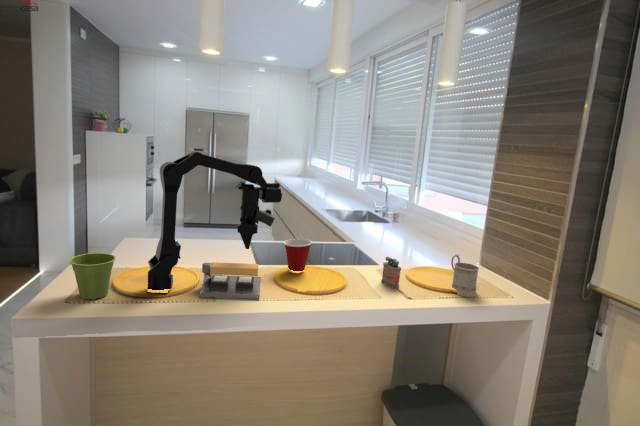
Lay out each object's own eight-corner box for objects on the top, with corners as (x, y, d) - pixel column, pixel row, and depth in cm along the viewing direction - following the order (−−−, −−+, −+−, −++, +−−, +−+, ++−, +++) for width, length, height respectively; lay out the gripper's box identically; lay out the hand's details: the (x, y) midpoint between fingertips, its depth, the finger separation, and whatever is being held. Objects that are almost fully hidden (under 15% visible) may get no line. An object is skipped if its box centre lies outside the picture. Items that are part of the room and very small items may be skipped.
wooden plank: (200, 274, 132) (201, 266, 131) (203, 269, 137) (203, 261, 136) (257, 276, 134) (258, 268, 134) (258, 271, 139) (258, 264, 139)
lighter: (401, 287, 150) (404, 261, 149) (394, 289, 148) (397, 262, 147) (385, 280, 157) (388, 255, 155) (379, 281, 155) (381, 256, 153)
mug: (483, 296, 148) (488, 264, 146) (458, 296, 146) (463, 263, 144) (460, 282, 162) (464, 252, 160) (437, 282, 160) (441, 252, 158)
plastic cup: (281, 266, 164) (283, 236, 162) (308, 267, 165) (310, 238, 163) (281, 275, 153) (283, 243, 151) (310, 276, 154) (313, 245, 152)
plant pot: (73, 289, 125) (72, 253, 123) (117, 287, 129) (117, 252, 127) (66, 305, 114) (65, 265, 112) (114, 301, 119) (114, 263, 117)
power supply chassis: (198, 297, 127) (199, 282, 126) (207, 278, 143) (207, 265, 142) (259, 299, 129) (260, 284, 128) (260, 280, 145) (261, 267, 145)
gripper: (274, 208, 131) (271, 256, 133) (273, 200, 149) (271, 242, 151) (238, 206, 129) (236, 255, 132) (242, 198, 147) (240, 240, 150)
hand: (247, 248), depth 141 cm, fingers closed
